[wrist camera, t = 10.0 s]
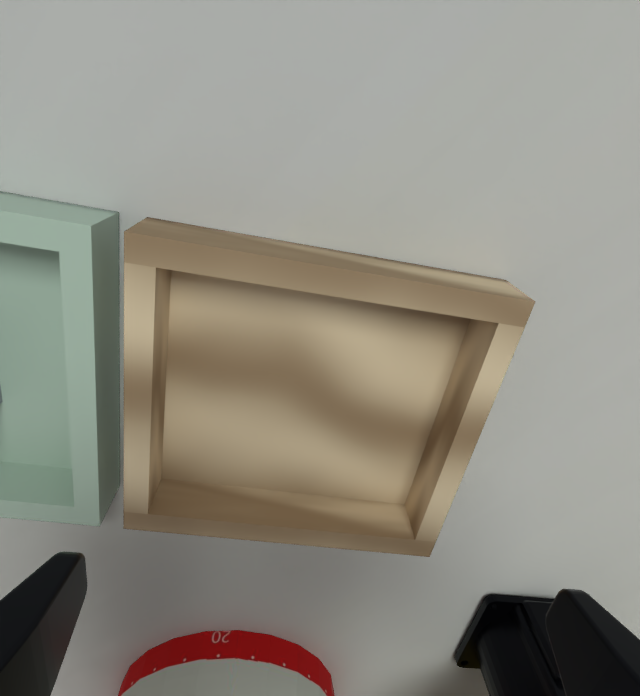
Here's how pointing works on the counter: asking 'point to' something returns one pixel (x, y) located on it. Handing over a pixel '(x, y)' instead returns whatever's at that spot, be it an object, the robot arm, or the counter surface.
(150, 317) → the oak tray
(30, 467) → the green bin
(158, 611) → the counter surface
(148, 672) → the kitchen timer
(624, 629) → the robot arm
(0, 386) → the grey cube
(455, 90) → the counter surface
